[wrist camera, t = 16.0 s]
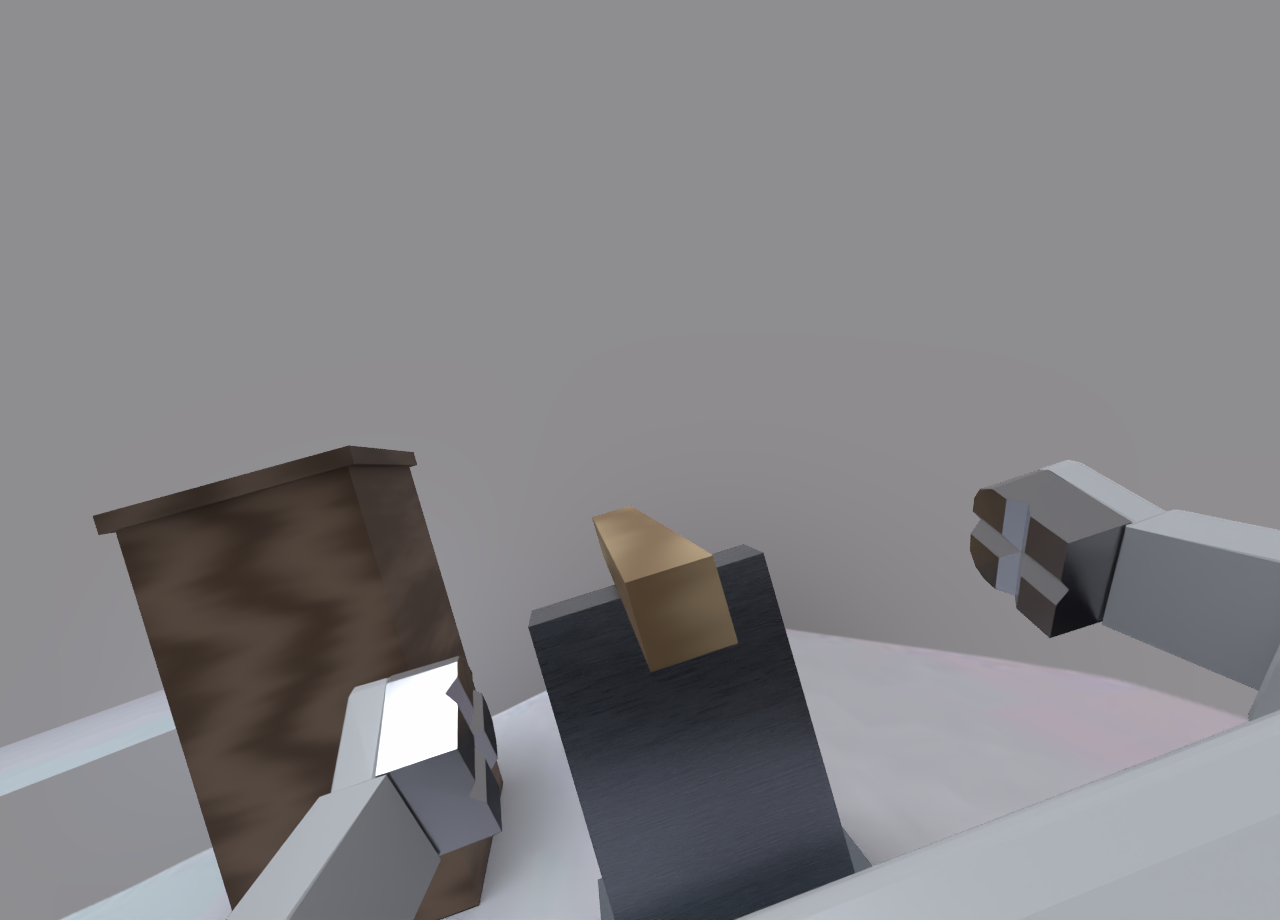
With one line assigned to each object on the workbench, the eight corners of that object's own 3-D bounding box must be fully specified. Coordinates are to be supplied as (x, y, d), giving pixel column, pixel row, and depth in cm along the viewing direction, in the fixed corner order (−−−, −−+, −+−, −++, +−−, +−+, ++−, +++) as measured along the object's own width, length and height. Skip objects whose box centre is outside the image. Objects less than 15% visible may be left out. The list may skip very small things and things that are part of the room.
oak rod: (650, 672, 17) (625, 582, 17) (603, 556, 39) (591, 517, 39) (738, 643, 17) (712, 555, 17) (642, 544, 39) (630, 505, 39)
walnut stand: (240, 997, 34) (92, 516, 33) (339, 835, 49) (238, 501, 48) (486, 907, 35) (348, 445, 35) (509, 777, 50) (413, 452, 50)
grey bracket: (624, 1101, 23) (493, 660, 22) (606, 908, 33) (515, 601, 32) (936, 974, 24) (818, 557, 24) (828, 825, 34) (743, 530, 34)
